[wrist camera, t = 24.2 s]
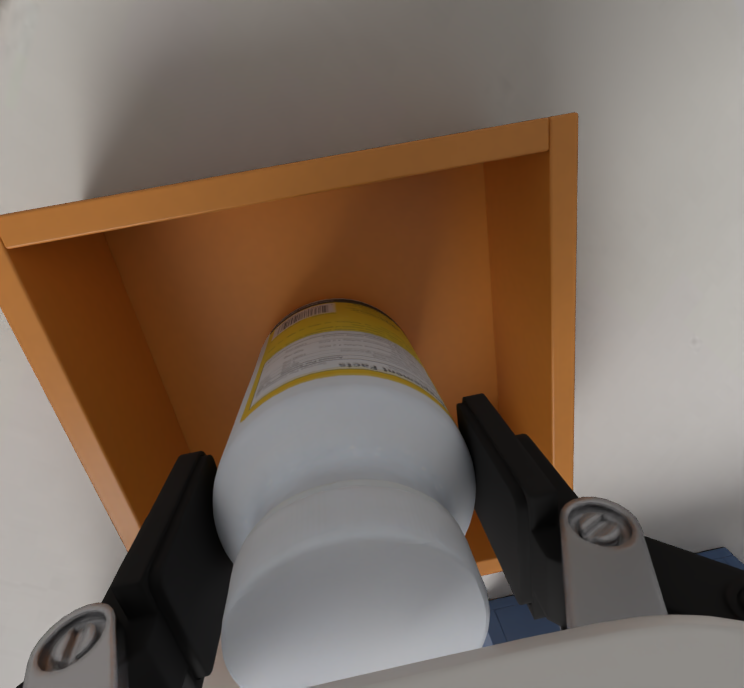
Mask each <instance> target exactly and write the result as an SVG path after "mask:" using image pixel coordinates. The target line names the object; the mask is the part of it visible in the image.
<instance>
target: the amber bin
mask: <svg viewBox="0 0 744 688" xmlns="http://www.w3.org/2000/svg"><path fill="white" fill-rule="evenodd" d="M577 172H578V113H575V112H574V113H568V114H563V115H557V116H551V117H548V118H540V119H534V120H529V121H523V122H518V123H512V124H506V125H501V126H495V127H490V128H484V129H478V130H473V131H467V132H462V133H456V134H450V135H445V136H439V137H434V138H428V139H422V140H417V141H411V142H406V143H400V144H394V145H389V146H383V147H378V148H372V149H366V150H361V151H355V152H350V153H344V154H338V155H333V156H327V157H322V158H316V159H311V160H305V161H299V162H294V163H288V164H283V165H277V166H271V167H266V168H260V169H255V170H249V171H243V172H238V173H232V174H227V175H221V176H215V177H210V178H204V179H199V180H193V181H187V182H182V183H176V184H171V185H165V186H159V187H154V188H148V189H143V190H137V191H131V192H126V193H120V194H115V195H109V196H103V197H98V198H92V199H87V200H81V201H76V202H70V203H64V204H59V205H53V206H48V207H42V208H36V209H31V210H25V211H20V212H14V213H8V214H3V215H0V307H1V309H2V311H3V313H4V315H5V317H6V319H7V321H8V323H9V325H10V327H11V328H12V330H13V332H14V334H15V336H16V338H17V340H18V342H19V344H20V346H21V348H22V350H23V352H24V353H25V355H26V357H27V359H28V361H29V363H30V365H31V367H32V369H33V371H34V373H35V375H36V376H37V378H38V380H39V382H40V384H41V386H42V388H43V390H44V392H45V394H46V396H47V398H48V400H49V401H50V403H51V405H52V407H53V409H54V411H55V413H56V415H57V417H58V419H59V421H60V423H61V425H62V426H63V428H64V430H65V432H66V434H67V436H68V438H69V440H70V442H71V444H72V446H73V448H74V450H75V451H76V453H77V455H78V457H79V459H80V461H81V463H82V465H83V467H84V469H85V471H86V473H87V475H88V476H89V478H90V480H91V482H92V484H93V486H94V488H95V490H96V492H97V494H98V496H99V498H100V500H101V501H102V503H103V505H104V507H105V509H106V511H107V513H108V515H109V517H110V519H111V521H112V523H113V525H114V526H115V528H116V530H117V532H118V534H119V536H120V538H121V540H122V542H123V544H124V546H125V548H126V549H127V551H129V549H130V547H131V545H132V544H133V542H134V540H135V538H136V536H137V534H138V532H139V530H140V528H141V526H142V524H143V523H144V521H145V519H146V517H147V516H148V514H149V512H150V510H151V509H152V507H153V505H154V503H155V501H156V499H157V497H158V495H159V493H160V491H161V489H162V487H163V486H164V484H165V482H166V480H167V478H168V476H169V474H170V472H171V470H172V468H173V466H174V464H175V463H176V461H177V459H178V457H179V456H180V455H183V454H188V453H193V452H197V451H204V452H205V454H206V455H212V456H213V458H214V461H215V463H216V466H217V469H218V465H219V463H220V460H221V457H222V455H223V452H224V449H225V447H226V444H227V441H228V439H229V436H230V434H231V431H232V428H233V426H234V423H235V420H236V417H237V415H238V412H239V409H240V406H241V404H242V401H243V398H244V396H245V393H246V390H247V388H248V385H249V383H250V380H251V377H252V375H253V372H254V369H255V366H256V363H257V360H258V357H259V354H260V352H261V349H262V347H263V345H264V342H265V340H266V338H267V337H268V335H269V334H270V332H271V331H272V330H273V328H274V327H275V326H276V325H277V324H278V323H279V322H280V321H281V320H282V319H283V318H284V317H285V316H287V315H288V314H290V313H291V312H293V311H294V310H296V309H298V308H300V307H302V306H304V305H306V304H309V303H312V302H315V301H319V300H324V299H333V298H343V299H351V300H357V301H361V302H364V303H367V304H369V305H371V306H373V307H376V308H378V309H379V310H381V311H382V312H384V313H385V314H387V315H388V316H389V317H390V318H391V319H393V320H394V321H395V322H396V323H397V325H398V326H399V327H400V328H401V329H402V331H403V332H404V333H405V335H406V337H407V338H408V340H409V342H410V344H411V345H412V347H413V349H414V351H415V352H416V354H417V356H418V358H419V359H420V361H421V363H422V365H423V366H424V368H425V370H426V372H427V373H428V375H429V377H430V379H431V380H432V382H433V384H434V386H435V387H436V389H437V391H438V393H439V395H440V397H441V398H442V400H443V402H444V404H445V406H446V407H447V409H448V411H449V413H450V414H451V416H452V418H453V420H454V422H455V423H456V425H457V427H458V419H457V410H456V404H458V403H462V398H463V397H466V396H471V395H476V394H480V393H483V394H484V395H485V396H486V397H487V398H488V400H489V401H490V402H491V404H492V405H493V406H494V408H495V409H496V410H497V412H498V413H499V414H500V416H501V417H502V418H503V420H504V421H505V422H506V424H507V425H508V426H509V428H510V429H511V430H512V432H513V433H514V434H515V435H519V434H527V435H528V436H529V437H530V438H531V439H532V441H533V442H534V443H535V444H536V446H537V447H538V448H539V449H540V451H541V452H542V453H543V454H544V456H545V457H546V458H547V459H548V461H549V462H550V463H551V464H552V465H553V467H554V468H555V469H556V470H557V472H558V473H559V474H560V475H561V477H562V478H563V479H564V480H565V482H566V483H567V484H568V485H569V487H570V488H571V489H572V490H573V454H574V384H575V313H576V243H577ZM465 537H466V539H467V542H468V544H469V547H470V549H471V552H472V554H473V557H474V559H475V562H476V564H477V567H478V569H479V572H480V575H481V576H483V575H488V574H492V573H497V572H501V571H503V570H502V568H501V566H500V563H499V561H498V559H497V557H496V555H495V553H494V550H493V548H492V546H491V544H490V542H489V540H488V537H487V535H486V533H485V531H484V529H483V527H482V524H481V522H480V520H479V518H478V516H477V514H476V511H475V509H474V511H473V515H472V518H471V522H470V525H469V527H468V530H467V532H466V535H465Z"/></svg>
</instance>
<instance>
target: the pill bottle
mask: <svg viewBox="0 0 744 688" xmlns="http://www.w3.org/2000/svg"><path fill="white" fill-rule="evenodd" d="M475 496H476V480H475V471H474V466H473V462H472V458H471V455H470V452H469V450H468V447H467V445H466V443H465V440H464V439H463V437H462V435H461V433H460V431H459V429H458V427H457V425H456V423H455V422H454V420H453V418H452V416H451V414H450V413H449V411H448V409H447V407H446V406H445V404H444V402H443V400H442V398H441V397H440V395H439V393H438V391H437V389H436V387H435V386H434V384H433V382H432V380H431V379H430V377H429V375H428V373H427V372H426V370H425V368H424V366H423V365H422V363H421V361H420V359H419V358H418V356H417V354H416V352H415V351H414V349H413V347H412V345H411V344H410V342H409V340H408V338H407V337H406V335H405V333H404V332H403V331H402V329H401V328H400V327H399V326H398V325H397V323H396V322H395V321H394V320H393V319H391V318H390V317H389V316H388V315H387V314H385V313H384V312H382V311H381V310H379V309H378V308H376V307H373V306H371V305H369V304H367V303H364V302H361V301H357V300H351V299H343V298H333V299H324V300H319V301H315V302H312V303H309V304H306V305H304V306H302V307H300V308H298V309H296V310H294V311H293V312H291V313H290V314H288V315H287V316H285V317H284V318H283V319H282V320H281V321H280V322H279V323H278V324H277V325H276V326H275V327H274V328H273V330H272V331H271V332H270V334H269V335H268V337H267V338H266V340H265V342H264V345H263V347H262V349H261V352H260V354H259V357H258V360H257V363H256V366H255V369H254V372H253V375H252V377H251V380H250V383H249V385H248V388H247V390H246V393H245V396H244V398H243V401H242V404H241V406H240V409H239V412H238V415H237V417H236V420H235V423H234V426H233V428H232V431H231V434H230V436H229V439H228V441H227V444H226V447H225V449H224V452H223V455H222V457H221V460H220V463H219V465H218V469H217V473H216V477H215V481H214V487H213V516H214V521H215V526H216V530H217V534H218V536H219V539H220V542H221V544H222V546H223V548H224V550H225V552H226V554H227V555H228V557H229V558H230V560H231V561H232V563H233V564H234V565H233V569H232V574H231V578H230V584H229V590H228V596H227V600H226V605H225V610H224V615H223V620H222V630H221V647H222V654H223V659H224V662H225V665H226V668H227V669H228V671H229V673H230V675H231V676H232V678H233V679H234V681H235V682H236V683H237V684H238V686H239V687H240V688H306V687H311V686H315V685H319V684H324V683H328V682H332V681H337V680H341V679H345V678H350V677H354V676H358V675H363V674H367V673H372V672H376V671H380V670H385V669H389V668H393V667H398V666H402V665H406V664H411V663H415V662H420V661H424V660H429V659H433V658H438V657H442V656H447V655H451V654H456V653H460V652H465V651H469V650H474V649H478V648H482V646H483V644H484V641H485V638H486V635H487V632H488V628H489V621H490V606H489V600H488V595H487V590H486V587H485V585H484V582H483V580H482V577H481V575H480V572H479V569H478V567H477V564H476V562H475V559H474V557H473V554H472V552H471V549H470V547H469V544H468V542H467V539H466V537H465V535H466V532H467V530H468V527H469V525H470V522H471V518H472V515H473V511H474V505H475Z"/></svg>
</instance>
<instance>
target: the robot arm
mask: <svg viewBox="0 0 744 688" xmlns="http://www.w3.org/2000/svg"><path fill="white" fill-rule="evenodd" d="M456 410H457V419H458V429H459V431H460V433H461V435H462V437H463V439H464V440H465V443H466V445H467V447H468V450H469V452H470V455H471V458H472V462H473V466H474V471H475V480H476V496H475V505H474V509H475V511H476V514H477V516H478V518H479V520H480V522H481V524H482V527H483V529H484V531H485V533H486V535H487V537H488V540H489V542H490V544H491V546H492V548H493V550H494V553H495V555H496V557H497V559H498V561H499V563H500V566H501V568H502V570H503V572H504V574H505V577H506V579H507V581H508V583H509V585H510V587H511V590H512V592H513V594H514V596H515V598H516V600H517V602H518V604H519V605H524V604H527V606H528V608H529V610H530V612H531V614H532V616H533V618H534V620H536V619H540V618H545V617H546V618H547V620H549V621H551V622H553V623H555V624H557V625H559V626H560V631H557V632H552V633H547V634H542V635H537V636H532V637H527V638H523V639H518V640H514V641H509V642H505V643H500V644H496V645H491V646H487V647H482V648H478V649H474V650H469V651H465V652H460V653H456V654H451V655H447V656H442V657H438V658H433V659H429V660H424V661H420V662H415V663H411V664H406V665H402V666H398V667H393V668H389V669H385V670H380V671H376V672H372V673H367V674H363V675H358V676H354V677H350V678H345V679H341V680H337V681H332V682H328V683H324V684H319V685H315V686H311V687H306V688H744V570H742V569H739V568H736V567H733V566H730V565H727V564H724V563H721V562H718V561H715V560H713V559H710V558H707V557H704V556H701V555H698V554H695V553H692V552H689V551H686V550H683V549H680V548H678V547H675V546H672V545H669V544H666V543H663V542H660V541H657V540H654V539H651V538H648V537H645V536H644V534H643V531H642V528H641V526H640V524H639V522H638V520H637V518H636V517H635V516H634V515H633V514H632V513H631V512H630V511H629V510H627V509H626V508H624V507H622V506H621V505H619V504H617V503H615V502H612V501H610V500H607V499H603V498H597V497H581V498H578V496H577V495H576V494H575V493H574V492H573V490H572V489H571V488H570V487H569V485H568V484H567V483H566V482H565V480H564V479H563V478H562V477H561V475H560V474H559V473H558V472H557V470H556V469H555V468H554V467H553V465H552V464H551V463H550V462H549V461H548V459H547V458H546V457H545V456H544V454H543V453H542V452H541V451H540V449H539V448H538V447H537V446H536V444H535V443H534V442H533V441H532V439H531V438H530V437H529V436H528V435H527V434H519V435H515V434H514V433H513V432H512V430H511V429H510V428H509V426H508V425H507V424H506V422H505V421H504V420H503V418H502V417H501V416H500V414H499V413H498V412H497V410H496V409H495V408H494V406H493V405H492V404H491V402H490V401H489V400H488V398H487V397H486V396H485V395H484V394H483V393H480V394H476V395H471V396H466V397H463V398H462V403H458V404H456ZM216 473H217V466H216V463H215V461H214V458H213V456H212V455H206V454H205V452H204V451H197V452H193V453H188V454H183V455H180V456H179V457H178V459H177V461H176V463H175V464H174V466H173V468H172V470H171V472H170V474H169V476H168V478H167V480H166V482H165V484H164V486H163V487H162V489H161V491H160V493H159V495H158V497H157V499H156V501H155V503H154V505H153V507H152V509H151V510H150V512H149V514H148V516H147V517H146V519H145V521H144V523H143V524H142V526H141V528H140V530H139V532H138V534H137V536H136V538H135V540H134V542H133V544H132V545H131V547H130V549H129V551H128V553H127V555H126V557H125V559H124V561H123V563H122V565H121V566H120V568H119V570H118V572H117V574H116V576H115V578H114V580H113V582H112V584H111V586H110V587H109V589H108V591H107V593H106V595H105V597H104V599H103V601H102V603H94V604H88V605H86V606H83V607H81V608H79V609H76V610H74V611H73V612H71V613H70V614H68V615H66V616H65V617H63V618H62V619H61V620H59V621H58V622H57V623H56V624H55V625H53V626H52V627H51V628H50V629H49V630H48V631H47V632H46V633H45V634H44V635H43V637H42V638H41V639H40V640H39V641H38V643H37V644H36V646H35V647H34V649H33V651H32V652H31V655H30V658H29V660H28V663H27V668H26V673H25V678H24V682H22V683H21V684H20V685H19V686H17V687H16V688H202V686H203V682H204V677H206V676H209V675H210V674H211V672H212V670H213V666H214V662H215V658H216V653H217V649H218V644H219V640H220V635H221V630H222V620H223V615H224V610H225V605H226V600H227V596H228V590H229V584H230V578H231V574H232V569H233V565H234V564H233V563H232V561H231V560H230V558H229V557H228V555H227V554H226V552H225V550H224V548H223V546H222V544H221V542H220V539H219V536H218V534H217V530H216V526H215V521H214V516H213V487H214V481H215V477H216Z"/></svg>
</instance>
